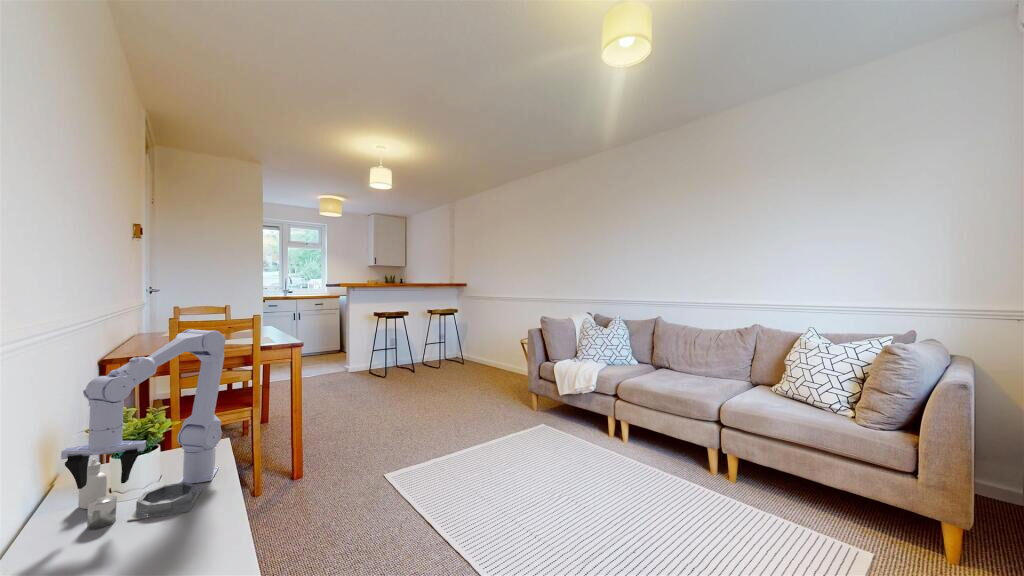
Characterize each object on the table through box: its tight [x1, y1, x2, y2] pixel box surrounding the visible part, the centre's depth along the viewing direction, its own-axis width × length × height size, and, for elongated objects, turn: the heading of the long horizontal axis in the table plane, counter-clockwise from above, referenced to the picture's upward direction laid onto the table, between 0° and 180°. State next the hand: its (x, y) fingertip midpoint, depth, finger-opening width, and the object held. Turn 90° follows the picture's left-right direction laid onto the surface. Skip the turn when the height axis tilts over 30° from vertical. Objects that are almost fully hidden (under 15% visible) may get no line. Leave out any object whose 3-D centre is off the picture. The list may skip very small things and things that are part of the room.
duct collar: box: [126, 482, 203, 523], centre depth 105 cm, size 12×12×3 cm
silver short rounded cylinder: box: [86, 495, 118, 531], centre depth 96 cm, size 6×5×6 cm
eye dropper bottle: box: [77, 457, 108, 510], centre depth 104 cm, size 4×6×12 cm
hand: (103, 484), depth 96 cm, fingers open, 7 cm apart
